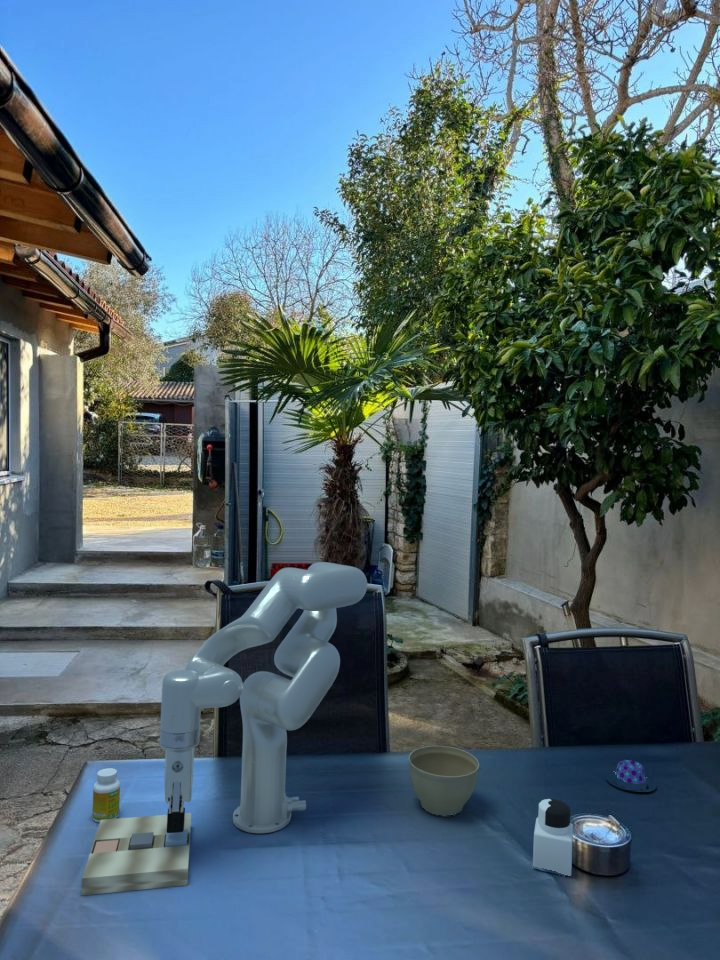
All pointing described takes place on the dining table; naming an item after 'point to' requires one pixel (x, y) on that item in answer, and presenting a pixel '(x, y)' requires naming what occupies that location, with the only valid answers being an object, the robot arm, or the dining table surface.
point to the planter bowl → (443, 778)
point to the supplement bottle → (106, 795)
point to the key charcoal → (141, 841)
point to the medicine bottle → (553, 837)
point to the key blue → (176, 839)
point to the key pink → (106, 846)
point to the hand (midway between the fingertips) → (175, 830)
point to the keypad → (136, 858)
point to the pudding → (630, 772)
